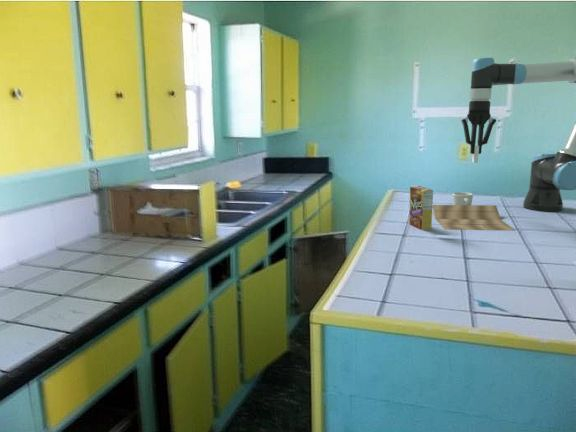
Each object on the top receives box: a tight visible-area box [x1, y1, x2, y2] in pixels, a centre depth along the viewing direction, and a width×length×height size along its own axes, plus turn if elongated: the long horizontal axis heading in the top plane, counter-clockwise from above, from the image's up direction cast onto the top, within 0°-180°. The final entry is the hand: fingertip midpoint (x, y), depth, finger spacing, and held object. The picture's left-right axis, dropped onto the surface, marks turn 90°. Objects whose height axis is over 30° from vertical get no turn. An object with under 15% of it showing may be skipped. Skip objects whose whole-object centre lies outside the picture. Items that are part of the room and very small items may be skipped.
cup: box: [451, 191, 474, 205], centre depth 204 cm, size 11×8×8 cm
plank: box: [432, 204, 502, 220], centre depth 193 cm, size 24×8×1 cm
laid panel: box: [435, 219, 516, 232], centre depth 182 cm, size 24×16×1 cm, turn 85°
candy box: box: [408, 185, 434, 231], centre depth 178 cm, size 9×4×15 cm, turn 17°
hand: (474, 162), depth 196 cm, fingers closed
